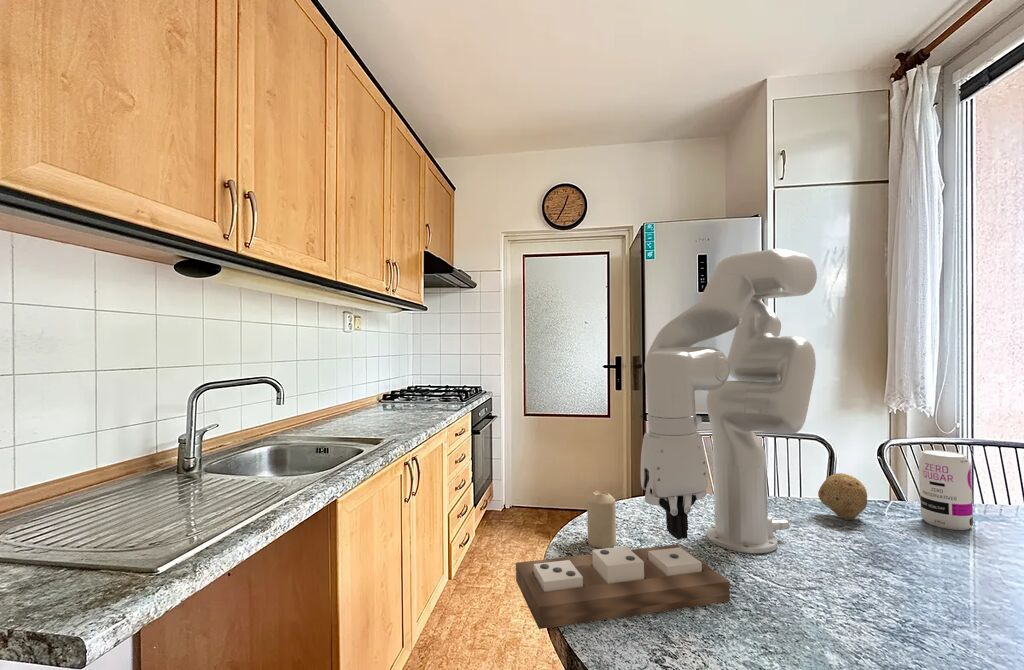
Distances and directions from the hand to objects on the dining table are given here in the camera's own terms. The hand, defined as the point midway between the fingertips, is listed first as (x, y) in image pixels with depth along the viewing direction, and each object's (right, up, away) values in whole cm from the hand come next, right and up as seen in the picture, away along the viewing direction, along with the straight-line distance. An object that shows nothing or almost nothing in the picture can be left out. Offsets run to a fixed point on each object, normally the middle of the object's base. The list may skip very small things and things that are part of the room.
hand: (677, 535), depth 78 cm
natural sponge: (+46, -8, +27) cm, 54 cm away
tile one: (-1, -6, -1) cm, 6 cm away
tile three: (-20, -6, -5) cm, 22 cm away
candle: (-10, -8, +15) cm, 20 cm away
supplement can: (+66, -7, +23) cm, 70 cm away
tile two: (-11, -5, -3) cm, 12 cm away
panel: (-11, -7, -3) cm, 13 cm away
